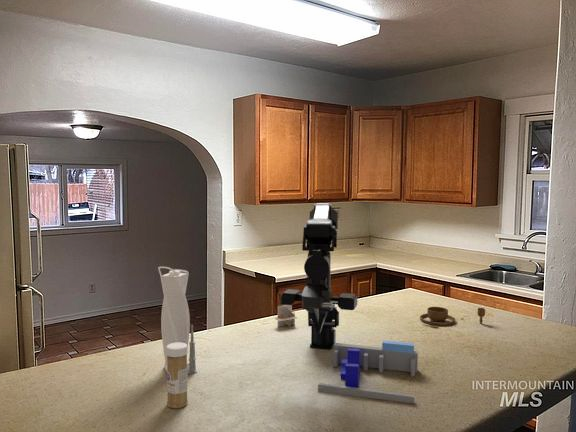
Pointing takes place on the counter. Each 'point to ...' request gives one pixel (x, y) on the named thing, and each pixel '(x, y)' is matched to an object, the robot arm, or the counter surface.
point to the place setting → (443, 316)
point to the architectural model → (285, 315)
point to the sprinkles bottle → (177, 374)
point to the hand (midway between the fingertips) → (318, 332)
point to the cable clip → (351, 368)
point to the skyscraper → (176, 314)
